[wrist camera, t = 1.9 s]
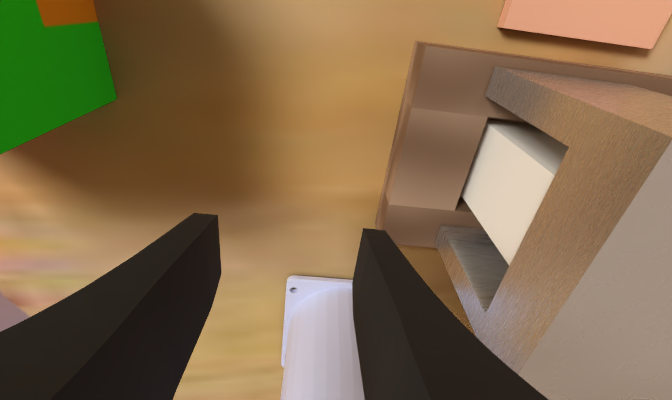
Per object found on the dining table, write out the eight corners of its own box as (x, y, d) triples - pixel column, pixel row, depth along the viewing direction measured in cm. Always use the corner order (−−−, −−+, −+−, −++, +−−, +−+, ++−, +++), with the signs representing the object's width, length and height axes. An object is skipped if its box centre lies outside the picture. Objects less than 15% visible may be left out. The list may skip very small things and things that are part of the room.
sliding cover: (538, 252, 19) (666, 406, 12) (434, 243, 19) (503, 397, 11) (629, 84, 14) (929, 169, 7) (495, 66, 14) (673, 137, 7)
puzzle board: (678, 250, 22) (708, 271, 20) (375, 222, 20) (379, 243, 19) (804, 94, 17) (858, 105, 15) (415, 41, 15) (426, 46, 14)
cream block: (525, 196, 19) (616, 287, 13) (457, 189, 19) (518, 279, 13) (558, 128, 17) (682, 198, 11) (481, 119, 17) (568, 186, 11)
